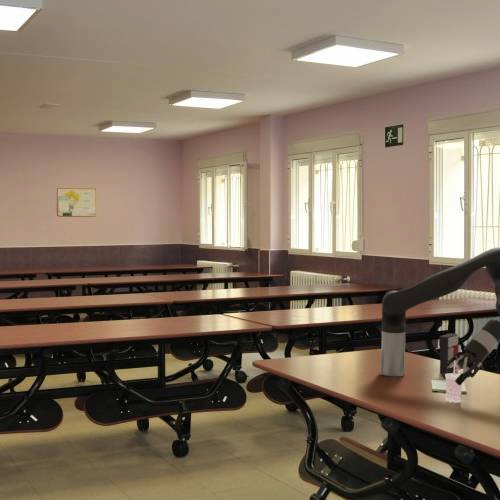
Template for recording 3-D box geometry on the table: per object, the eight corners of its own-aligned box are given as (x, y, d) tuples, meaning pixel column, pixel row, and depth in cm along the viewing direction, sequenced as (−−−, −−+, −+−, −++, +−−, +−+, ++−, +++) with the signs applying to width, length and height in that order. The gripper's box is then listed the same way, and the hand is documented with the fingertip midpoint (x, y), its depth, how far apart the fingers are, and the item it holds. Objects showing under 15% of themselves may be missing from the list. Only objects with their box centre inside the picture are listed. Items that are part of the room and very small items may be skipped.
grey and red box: (448, 374, 291) (449, 337, 290) (438, 373, 294) (439, 336, 293) (458, 370, 300) (459, 334, 299) (448, 369, 303) (449, 333, 302)
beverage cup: (462, 404, 245) (463, 363, 245) (443, 402, 247) (444, 361, 247) (463, 400, 251) (464, 359, 250) (445, 398, 253) (446, 358, 252)
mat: (432, 391, 262) (432, 389, 262) (431, 380, 280) (431, 378, 280) (466, 393, 260) (466, 391, 260) (463, 382, 277) (463, 380, 277)
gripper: (499, 357, 245) (468, 393, 243) (475, 349, 259) (445, 383, 256) (486, 342, 244) (455, 378, 241) (462, 335, 257) (432, 369, 254)
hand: (450, 380), depth 248 cm, fingers open, 7 cm apart
